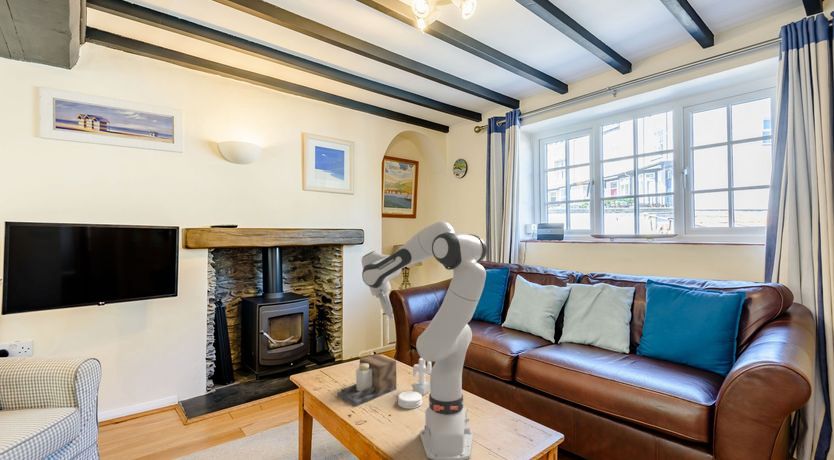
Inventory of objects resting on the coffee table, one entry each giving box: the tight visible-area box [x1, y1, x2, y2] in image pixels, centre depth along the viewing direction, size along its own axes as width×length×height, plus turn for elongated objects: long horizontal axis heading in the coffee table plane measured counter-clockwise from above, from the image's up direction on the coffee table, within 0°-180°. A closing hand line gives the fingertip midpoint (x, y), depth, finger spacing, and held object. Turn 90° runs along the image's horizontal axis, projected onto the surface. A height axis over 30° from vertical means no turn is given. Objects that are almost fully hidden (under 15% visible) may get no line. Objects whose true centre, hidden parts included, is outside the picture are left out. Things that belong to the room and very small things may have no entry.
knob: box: [355, 363, 372, 391], centre depth 166 cm, size 5×5×11 cm
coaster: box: [397, 390, 423, 410], centre depth 157 cm, size 10×10×4 cm
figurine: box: [410, 357, 433, 396], centre depth 168 cm, size 7×9×15 cm
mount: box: [336, 353, 397, 407], centre depth 168 cm, size 22×14×13 cm, turn 136°
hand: (391, 317), depth 164 cm, fingers closed
